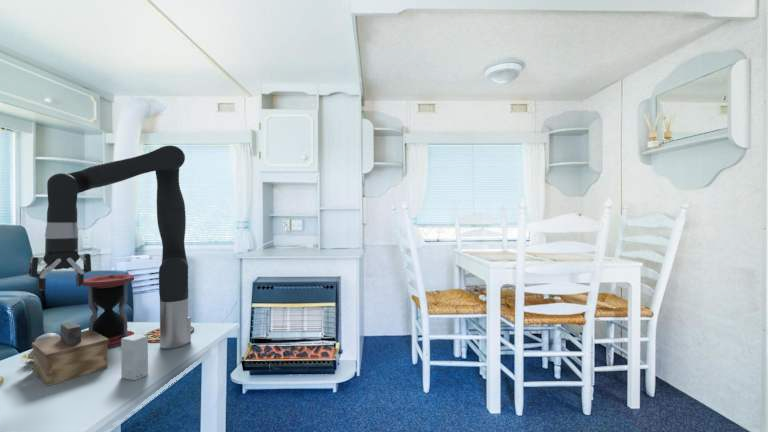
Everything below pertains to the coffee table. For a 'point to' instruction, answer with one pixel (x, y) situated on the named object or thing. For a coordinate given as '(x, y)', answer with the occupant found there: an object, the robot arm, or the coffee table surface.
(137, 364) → the skincare box
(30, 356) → the round bodied animal figurine
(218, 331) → the coffee table surface
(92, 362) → the open wooden box
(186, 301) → the robot arm
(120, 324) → the hourglass
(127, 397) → the coffee table surface
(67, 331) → the lid
